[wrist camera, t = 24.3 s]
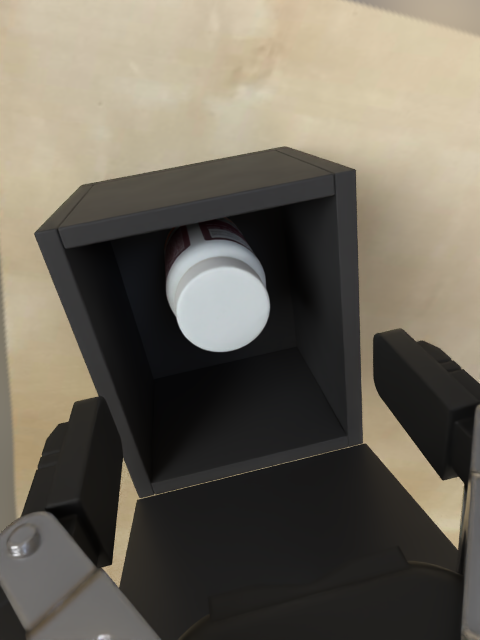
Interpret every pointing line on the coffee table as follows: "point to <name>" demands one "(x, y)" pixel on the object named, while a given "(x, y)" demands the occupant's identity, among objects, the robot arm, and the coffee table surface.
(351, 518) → the lid
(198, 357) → the dark grey hollow box
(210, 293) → the pill bottle
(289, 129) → the coffee table surface
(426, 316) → the coffee table surface
